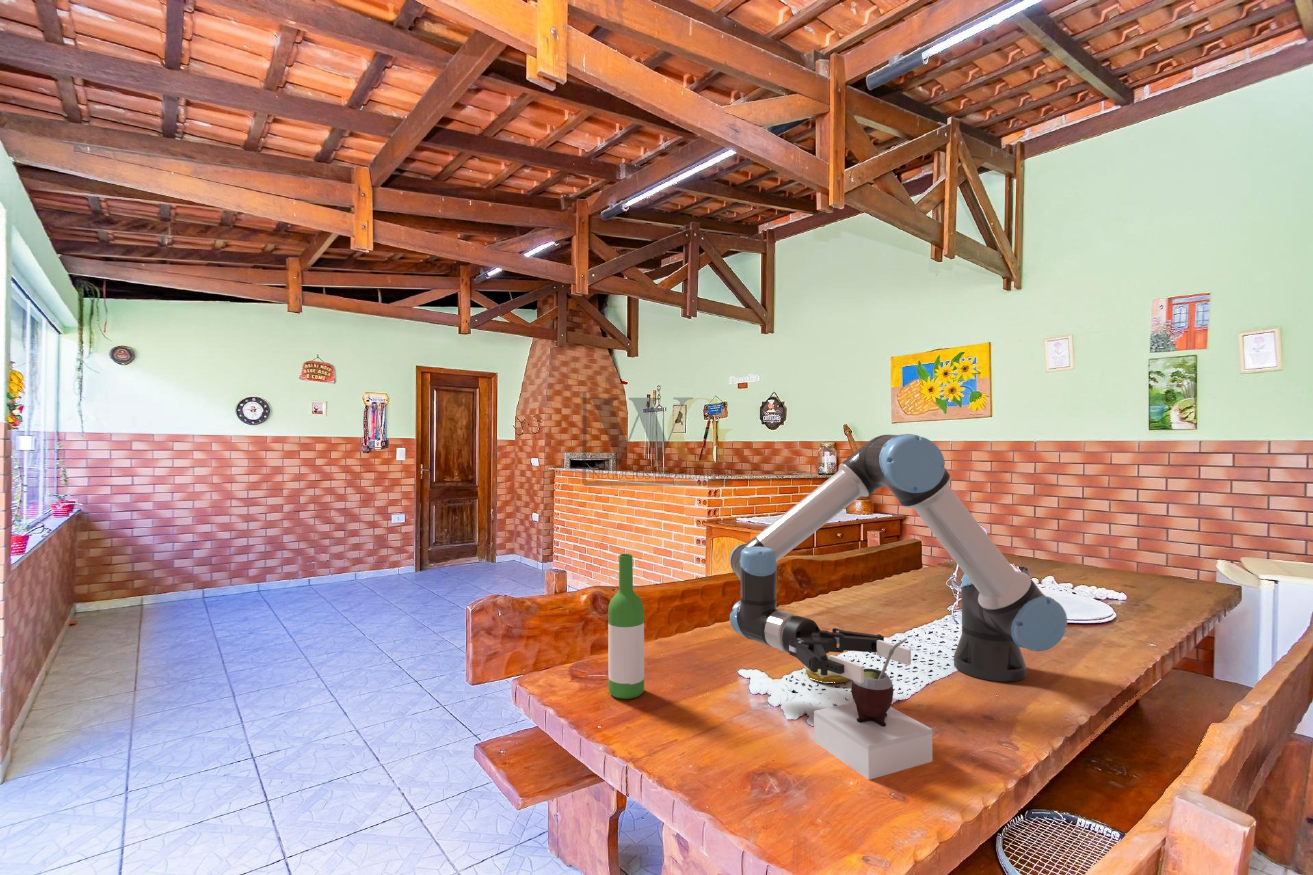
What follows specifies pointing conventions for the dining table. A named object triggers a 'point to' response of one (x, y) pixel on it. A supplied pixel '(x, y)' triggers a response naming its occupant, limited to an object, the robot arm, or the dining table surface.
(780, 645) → the robot arm
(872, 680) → the mate gourd
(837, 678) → the decorated donut
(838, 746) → the storage box
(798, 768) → the dining table surface
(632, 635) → the wine bottle
